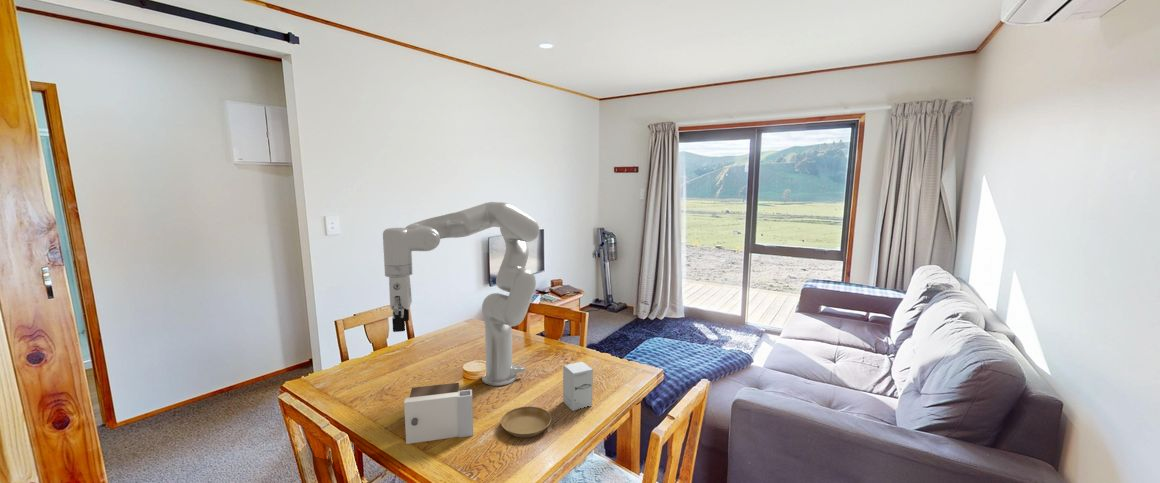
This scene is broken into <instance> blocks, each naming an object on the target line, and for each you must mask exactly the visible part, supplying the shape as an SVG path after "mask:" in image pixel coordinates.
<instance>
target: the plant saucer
mask: <svg viewBox="0 0 1160 483" xmlns="http://www.w3.org/2000/svg"><path fill="white" fill-rule="evenodd" d="M551 422H552V415H551V413H550V412H549V411H548V410H546V409H544V408H541V407H538V406H519V407H517V408H513V409H511V410H509V411H506V413H504V414H503V416H502V417H501V419H500V424H501V428H503V429H504V431H506V432H507V433H509V434H510V435H511V436H514V437H516V438H517V437H518V438H531V437H536V436H538V435H540V434H541V433H543V432H544V431H545V430H547V428H548V427H549V426H550V424H551Z"/></svg>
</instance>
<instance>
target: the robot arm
mask: <svg viewBox="0 0 1160 483" xmlns="http://www.w3.org/2000/svg"><path fill="white" fill-rule="evenodd" d="M491 228H499V231H500V235H501V237H503V239H504V243H505V253H504V255H503V257H502V258H503V259H502V261H501V263H500V264H501V265H500V266H499V270H498V272H497V275H496V278H495V284H496V287H497V288H498V289H499V290H501V291H504V292H507V293H509V294H508V295H506V294H503V293H490V294H489V295H487V296H486V297H485V298H484V299H483V301H482V305H481V312H482V318H483V323H484V333H485V334H484V335H485V336H484V337H485V339H484V340H485V342H484V343H485V346H484V347H485V372H486V376H485V377H482V376H481V382H483V384H485V385H489V386H493V387H494V386H495V387H497V386H499V387H500V386H505V385H509V384H511V383H513V382H515V381H516V379H517V378H518V377H517V376H518V374H520V373H522V374H523V373H526V367H525V366H523V367H522V365H515V364H514V362H513V331H512V327H516V326H519V325H520V324H521V323H522V322H523V321H524V319H525V317H526V316H527V312H528V310H529V308H530V304H531V301H532V299H533V296H534V294H535V291H536V290H535V289H536V284H537V282H536V281H537V280H536V276H535V274H534V272H532V271H531V270H530V269H528V268H526V265H527V262H528V260H529V247H528V243H529V242H533V241H535V240H536V239H537V238H538V236H539V234H540V226H539V224H538V222H537V221H536V219H534V217H531V216H529V215H528V214H527V213H525V212H523V210H520V209H519V208H517V207H516V206H513V205H512V204H510V203H507V202H503V201H502V202H498V201H489V202H485V203H481V204H478V205H474V206H472V207H469V208H467V209H462V210H459V211H456V212H455V211H454V212H451V213H450V212H449V213H446V214H443V215H439V216H434V217H430V218H426V219H422V220H420V221H417V222H413V223H411V224H409V225H406V226H405V227H390V228H386V229H384V230H383V232H382V246H383V262H384V276H385V277H387V278H388V285H389V286H388V287H389V288H388V290H389V291H388V292H389V304H390V305H389V306H390V310H391V311H392V320H391V321H392V332H394V333H398V332H399V333H400V332H405V331H406V323H405V322H408V321H409V320H410V313H409V312H410V311H409V308H410V307H411V305H412V301H413V298H412V287H411V286H412V285H411V277H410V276H412V275H413V257H412V256H413V253H412V252H430V251H433V250H435V249H436V248H437V247H439V245H440V243H441V239H450V238H453V239H456V238H457V239H458V238H465V237H470V236H471V235H474V234H477V233H479V232H482V231H485V230H487V229H488V230H489V229H491Z"/></svg>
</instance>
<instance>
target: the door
mask: <svg viewBox="0 0 1160 483" xmlns="http://www.w3.org/2000/svg"><path fill="white" fill-rule="evenodd" d="M403 406H404V407H403V408H404V424H405V425H404V426H405V445H409V444H418V443H423V442H430V441H436V440H444V439H452V438H457V437H458V438H465V437H471V436H472V437H473V436H474V416H473V414H474V409H473V389H465V390H464V389H463V390H459V391H458V392H454V393H445V394H437V395H428V396H420V397H411V398H409V397H406V398H404V402H403Z"/></svg>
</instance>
